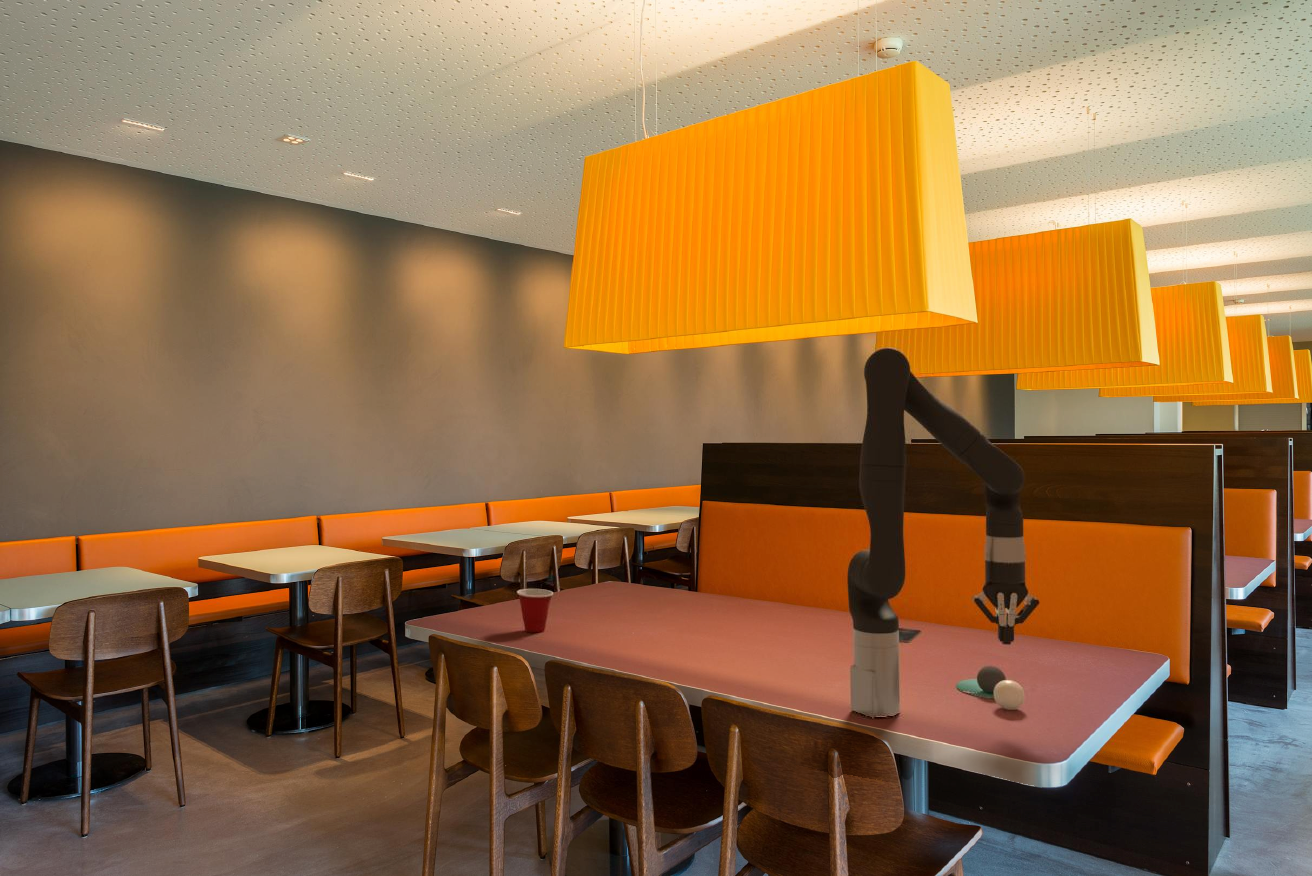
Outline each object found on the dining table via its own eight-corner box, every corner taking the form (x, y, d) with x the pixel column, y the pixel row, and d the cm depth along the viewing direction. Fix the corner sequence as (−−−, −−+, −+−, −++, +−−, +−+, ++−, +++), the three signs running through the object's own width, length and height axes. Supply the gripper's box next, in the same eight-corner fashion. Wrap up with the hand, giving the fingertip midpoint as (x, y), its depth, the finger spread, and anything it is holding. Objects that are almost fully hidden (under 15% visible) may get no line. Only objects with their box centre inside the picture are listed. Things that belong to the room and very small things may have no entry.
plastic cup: (551, 635, 245) (550, 594, 245) (514, 635, 245) (513, 594, 245) (556, 626, 256) (555, 587, 256) (521, 626, 256) (520, 587, 256)
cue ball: (1014, 670, 175) (1010, 686, 179) (989, 680, 175) (985, 695, 179) (1033, 694, 171) (1028, 709, 175) (1007, 704, 170) (1002, 719, 174)
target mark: (997, 703, 179) (997, 702, 179) (942, 686, 191) (942, 686, 191) (1036, 691, 187) (1036, 690, 187) (981, 676, 198) (981, 675, 198)
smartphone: (922, 630, 243) (908, 641, 230) (922, 633, 243) (908, 644, 230) (896, 627, 247) (881, 638, 234) (896, 630, 247) (881, 641, 234)
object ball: (993, 664, 182) (988, 657, 188) (973, 683, 183) (968, 675, 189) (1014, 684, 182) (1008, 676, 188) (994, 703, 182) (989, 695, 188)
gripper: (1035, 555, 172) (1036, 640, 172) (967, 554, 175) (968, 638, 175) (1044, 561, 165) (1045, 649, 165) (973, 560, 167) (974, 647, 167)
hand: (1005, 643), depth 170 cm, fingers closed
